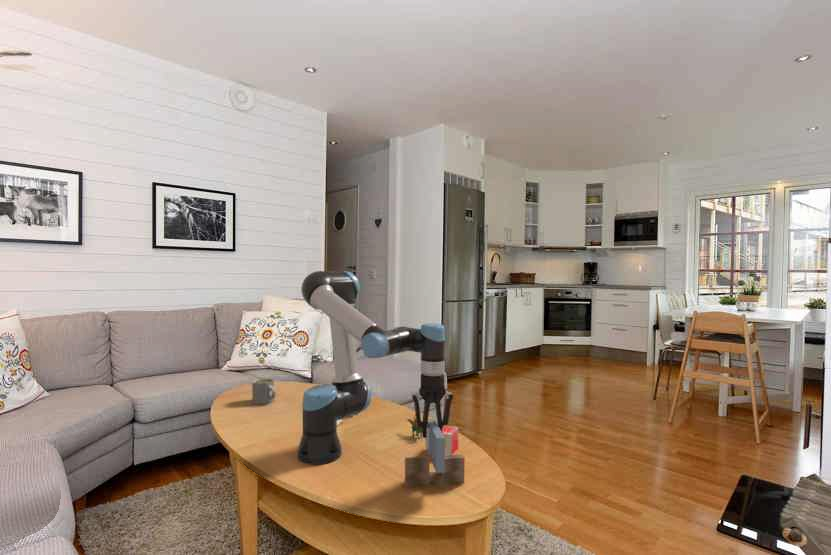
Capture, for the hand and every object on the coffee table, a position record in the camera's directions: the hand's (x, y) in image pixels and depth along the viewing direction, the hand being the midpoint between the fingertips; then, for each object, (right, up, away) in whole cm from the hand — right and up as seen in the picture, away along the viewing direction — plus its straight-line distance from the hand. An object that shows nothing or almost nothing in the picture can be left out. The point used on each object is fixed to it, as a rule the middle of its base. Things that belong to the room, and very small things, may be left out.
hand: (432, 447), depth 138 cm
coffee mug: (-78, -7, +73) cm, 107 cm away
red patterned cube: (+5, -9, +19) cm, 22 cm away
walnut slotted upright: (+1, -9, -5) cm, 11 cm away
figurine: (-5, -9, +33) cm, 34 cm away
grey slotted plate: (+1, -2, -5) cm, 5 cm away
